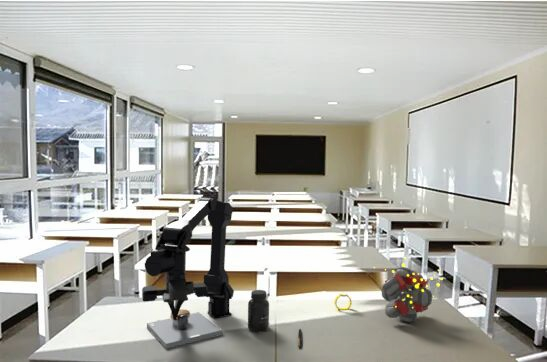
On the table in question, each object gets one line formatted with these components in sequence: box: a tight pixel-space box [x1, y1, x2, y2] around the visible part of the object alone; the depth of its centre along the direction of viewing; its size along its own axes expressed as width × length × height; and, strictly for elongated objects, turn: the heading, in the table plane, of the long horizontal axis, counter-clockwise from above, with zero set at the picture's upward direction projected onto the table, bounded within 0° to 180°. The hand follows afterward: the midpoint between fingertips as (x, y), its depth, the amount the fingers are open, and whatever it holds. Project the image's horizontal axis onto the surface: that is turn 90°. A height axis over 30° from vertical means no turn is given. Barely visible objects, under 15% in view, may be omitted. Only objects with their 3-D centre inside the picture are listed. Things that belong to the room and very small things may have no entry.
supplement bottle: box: [247, 289, 270, 333], centre depth 136 cm, size 7×7×12 cm
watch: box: [334, 292, 353, 311], centre depth 154 cm, size 6×3×6 cm, turn 96°
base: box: [146, 312, 223, 349], centre depth 134 cm, size 18×18×4 cm
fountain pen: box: [297, 328, 303, 349], centre depth 129 cm, size 14×1×2 cm, turn 176°
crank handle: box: [170, 308, 191, 331], centre depth 132 cm, size 14×6×4 cm, turn 16°
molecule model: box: [373, 256, 444, 323], centre depth 143 cm, size 25×21×23 cm
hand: (174, 319), depth 126 cm, fingers closed
